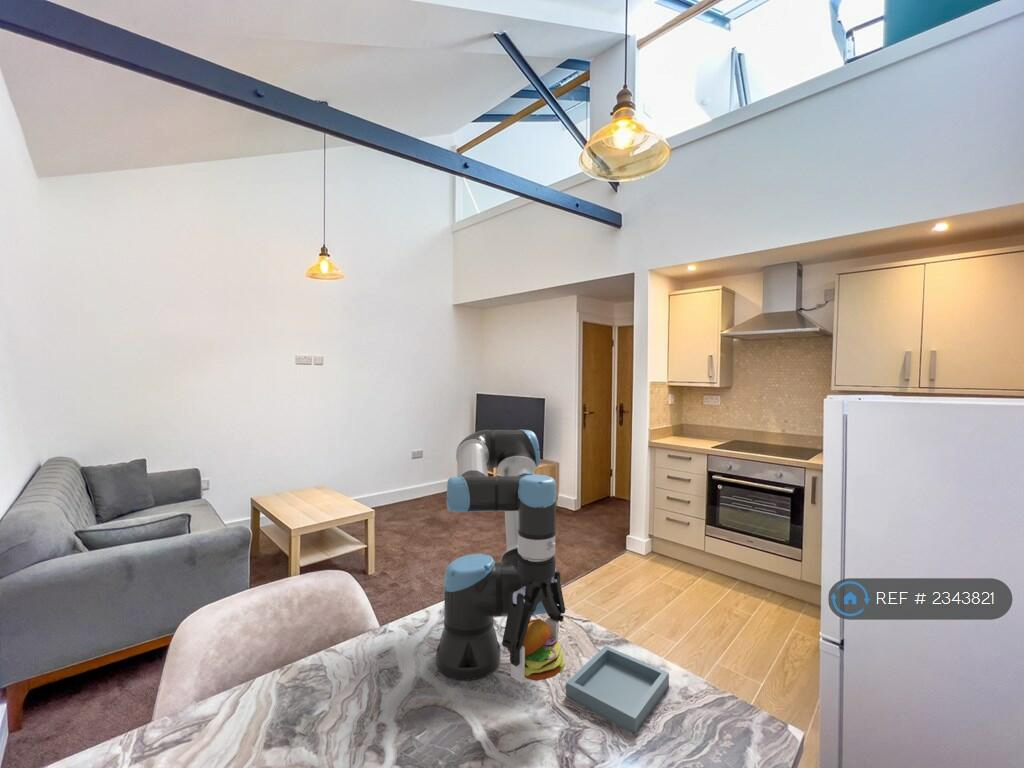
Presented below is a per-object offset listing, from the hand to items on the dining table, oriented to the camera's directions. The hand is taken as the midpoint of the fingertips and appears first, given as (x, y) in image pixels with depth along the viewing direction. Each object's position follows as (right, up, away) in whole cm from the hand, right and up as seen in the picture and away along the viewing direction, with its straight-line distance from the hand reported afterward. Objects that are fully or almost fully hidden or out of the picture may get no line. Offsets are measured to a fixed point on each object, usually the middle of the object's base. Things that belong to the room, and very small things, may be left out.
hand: (535, 664), depth 87 cm
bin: (+18, -9, +5) cm, 21 cm away
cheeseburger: (0, -1, 0) cm, 1 cm away
